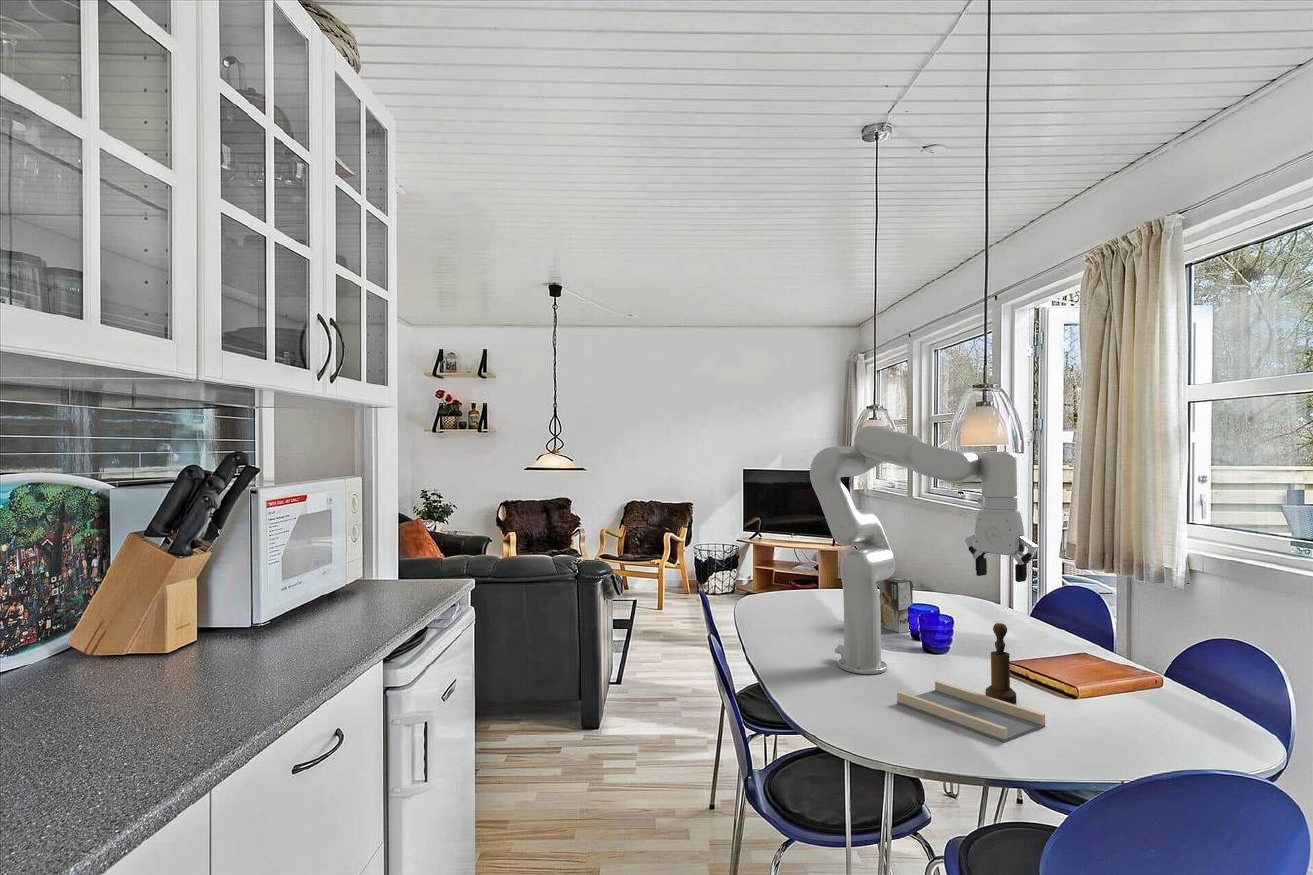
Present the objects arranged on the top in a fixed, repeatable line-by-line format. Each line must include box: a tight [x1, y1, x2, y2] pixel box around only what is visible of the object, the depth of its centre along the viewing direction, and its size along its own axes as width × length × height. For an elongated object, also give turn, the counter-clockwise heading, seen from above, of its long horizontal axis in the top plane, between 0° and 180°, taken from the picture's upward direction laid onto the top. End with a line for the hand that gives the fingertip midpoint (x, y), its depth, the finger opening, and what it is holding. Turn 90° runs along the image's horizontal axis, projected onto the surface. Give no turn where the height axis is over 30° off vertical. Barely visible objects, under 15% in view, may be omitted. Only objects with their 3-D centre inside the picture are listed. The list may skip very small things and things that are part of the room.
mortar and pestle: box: [984, 622, 1017, 705], centre depth 168 cm, size 7×6×18 cm
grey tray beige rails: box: [896, 680, 1046, 743], centre depth 159 cm, size 26×15×3 cm, turn 33°
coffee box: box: [878, 576, 914, 634], centre depth 234 cm, size 9×6×16 cm
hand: (1000, 578), depth 168 cm, fingers open, 9 cm apart
